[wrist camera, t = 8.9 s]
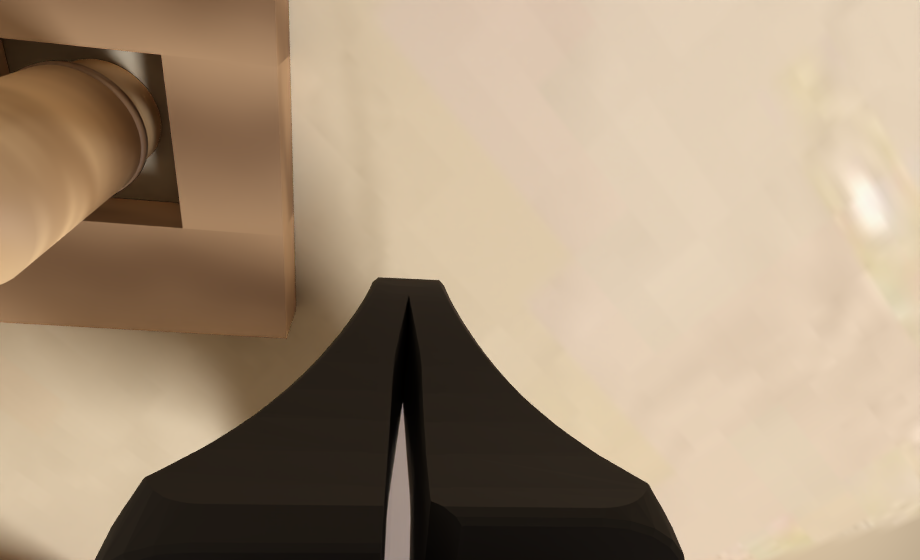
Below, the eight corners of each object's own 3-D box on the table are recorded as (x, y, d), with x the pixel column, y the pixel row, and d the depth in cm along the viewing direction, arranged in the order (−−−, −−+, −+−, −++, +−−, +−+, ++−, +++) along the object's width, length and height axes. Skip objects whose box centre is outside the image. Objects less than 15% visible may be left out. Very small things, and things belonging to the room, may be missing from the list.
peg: (175, 179, 21) (55, 297, 14) (52, 169, 21) (-136, 285, 14) (160, 57, 19) (12, 125, 12) (23, 43, 19) (-214, 104, 12)
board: (295, 309, 24) (286, 338, 22) (-27, 289, 23) (-63, 318, 21) (285, -101, 17) (271, -105, 15) (-178, -163, 16) (-251, -176, 14)
